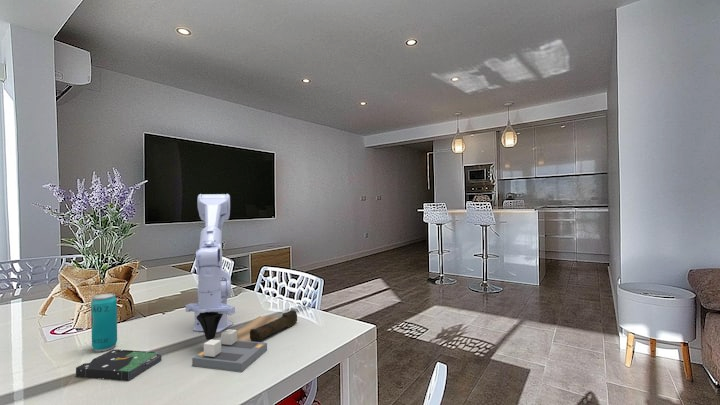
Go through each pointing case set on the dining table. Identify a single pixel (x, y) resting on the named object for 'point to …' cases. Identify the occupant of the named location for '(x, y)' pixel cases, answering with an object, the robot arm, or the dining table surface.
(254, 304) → the dining table surface
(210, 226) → the robot arm
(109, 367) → the disk drive
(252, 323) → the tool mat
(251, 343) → the grey flat block
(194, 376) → the dining table surface
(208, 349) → the white cube
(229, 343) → the switch tab
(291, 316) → the dark brown log
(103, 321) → the beverage can
